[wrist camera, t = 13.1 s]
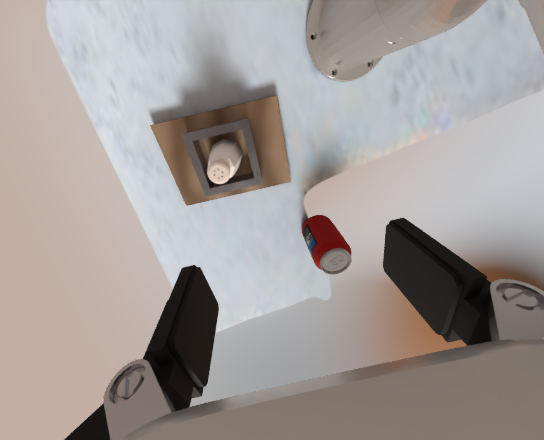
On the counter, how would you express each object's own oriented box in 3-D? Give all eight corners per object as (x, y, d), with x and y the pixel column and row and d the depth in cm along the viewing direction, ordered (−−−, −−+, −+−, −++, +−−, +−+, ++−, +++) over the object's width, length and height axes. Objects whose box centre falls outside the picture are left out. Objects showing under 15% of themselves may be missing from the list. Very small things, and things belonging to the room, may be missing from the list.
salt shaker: (204, 158, 35) (187, 177, 25) (222, 131, 33) (211, 140, 24) (231, 177, 37) (224, 202, 27) (249, 152, 35) (249, 169, 26)
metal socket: (247, 117, 33) (247, 118, 30) (262, 177, 38) (263, 183, 34) (187, 131, 33) (180, 134, 30) (208, 189, 38) (205, 196, 35)
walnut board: (275, 95, 33) (276, 95, 32) (289, 179, 40) (290, 181, 38) (154, 124, 33) (150, 125, 32) (188, 202, 40) (186, 205, 39)
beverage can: (294, 226, 45) (308, 262, 34) (320, 207, 43) (343, 238, 33) (312, 244, 48) (329, 283, 37) (336, 227, 46) (362, 262, 36)
